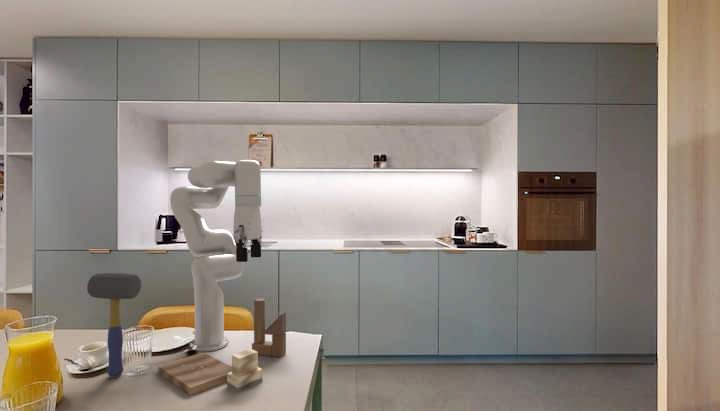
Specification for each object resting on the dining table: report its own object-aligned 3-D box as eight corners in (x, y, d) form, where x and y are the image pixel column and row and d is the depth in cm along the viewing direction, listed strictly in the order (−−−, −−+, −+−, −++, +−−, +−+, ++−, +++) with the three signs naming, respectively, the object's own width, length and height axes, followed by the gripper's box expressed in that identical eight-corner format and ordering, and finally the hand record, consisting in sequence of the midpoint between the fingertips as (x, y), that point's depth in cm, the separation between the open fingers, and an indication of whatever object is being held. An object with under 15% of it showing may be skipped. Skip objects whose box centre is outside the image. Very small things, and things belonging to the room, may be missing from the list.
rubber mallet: (144, 371, 117) (143, 271, 116) (126, 383, 109) (125, 276, 109) (105, 369, 118) (104, 270, 117) (85, 381, 110) (84, 275, 110)
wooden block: (281, 357, 127) (282, 302, 127) (251, 354, 130) (251, 300, 129) (286, 353, 131) (286, 299, 131) (256, 350, 133) (256, 297, 133)
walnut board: (158, 372, 116) (158, 366, 116) (203, 358, 126) (203, 352, 126) (190, 395, 103) (190, 387, 103) (238, 377, 114) (238, 370, 113)
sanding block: (237, 392, 105) (237, 360, 105) (227, 386, 108) (227, 355, 108) (262, 381, 111) (262, 351, 111) (252, 376, 114) (252, 347, 114)
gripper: (248, 202, 126) (249, 255, 126) (222, 202, 109) (223, 263, 109) (270, 202, 125) (272, 255, 125) (247, 201, 108) (248, 263, 108)
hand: (249, 259), depth 117 cm, fingers open, 9 cm apart
